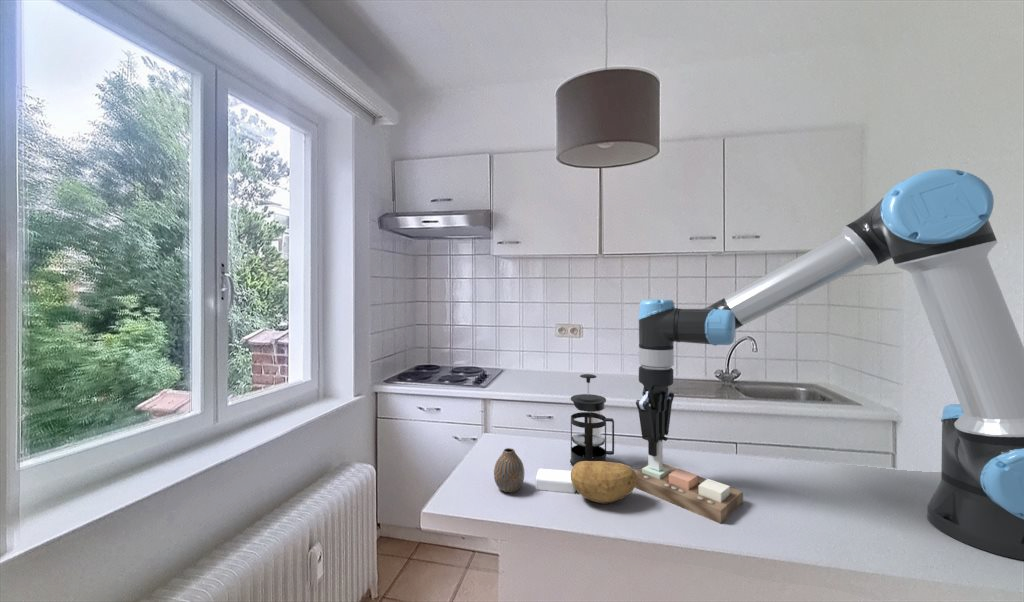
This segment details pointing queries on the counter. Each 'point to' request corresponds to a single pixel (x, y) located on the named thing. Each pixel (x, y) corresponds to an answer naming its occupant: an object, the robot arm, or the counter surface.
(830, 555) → the counter surface
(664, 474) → the sage button
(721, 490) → the cream button
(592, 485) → the potato
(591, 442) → the french press
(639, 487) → the console
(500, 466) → the vase
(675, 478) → the terracotta button
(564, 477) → the soap
